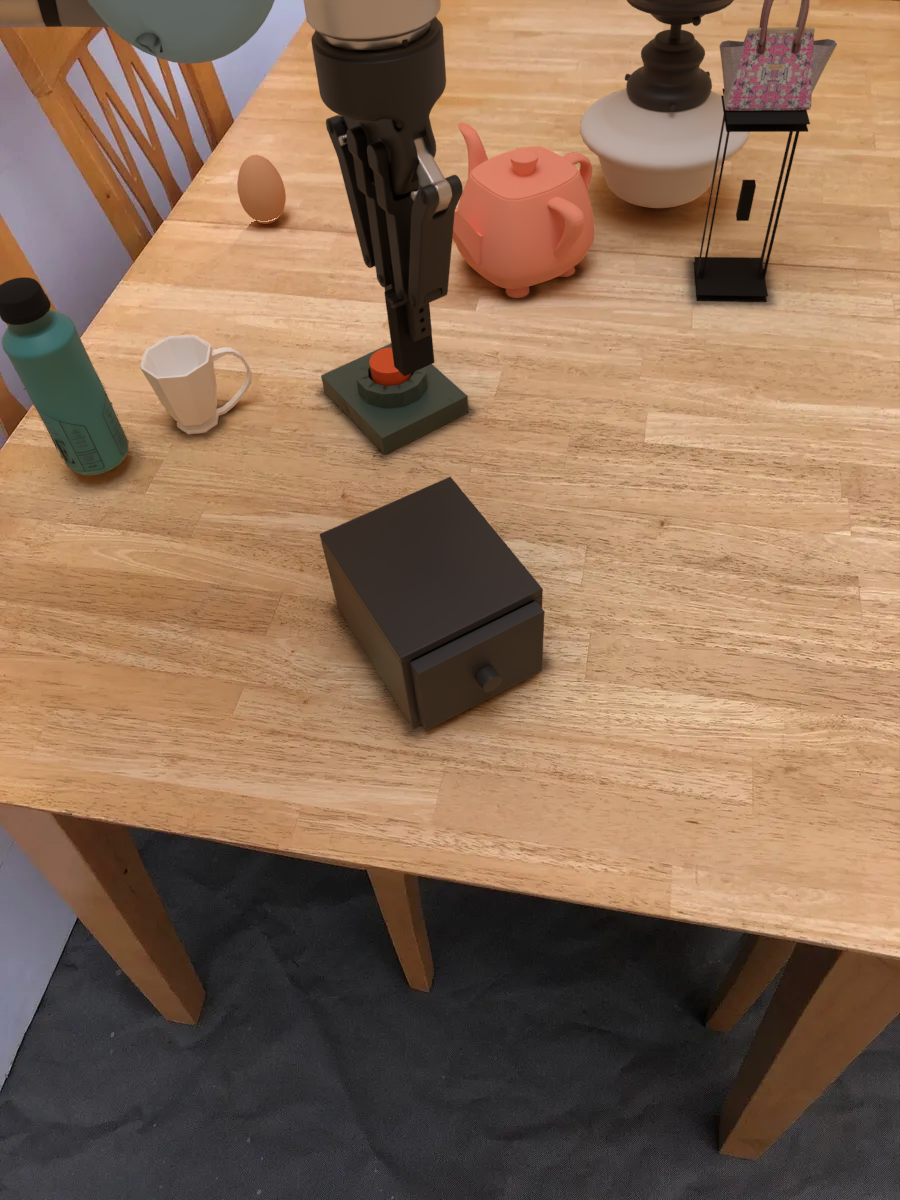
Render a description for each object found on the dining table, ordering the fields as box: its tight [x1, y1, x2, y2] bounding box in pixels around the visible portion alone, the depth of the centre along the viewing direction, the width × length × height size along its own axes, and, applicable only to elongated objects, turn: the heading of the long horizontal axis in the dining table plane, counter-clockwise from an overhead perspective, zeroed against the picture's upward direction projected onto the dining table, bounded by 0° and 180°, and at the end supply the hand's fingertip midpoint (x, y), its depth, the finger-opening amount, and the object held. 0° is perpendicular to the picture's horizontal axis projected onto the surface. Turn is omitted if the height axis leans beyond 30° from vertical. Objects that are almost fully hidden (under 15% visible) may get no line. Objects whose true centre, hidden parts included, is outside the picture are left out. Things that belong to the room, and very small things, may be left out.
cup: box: [139, 334, 253, 435], centre depth 92 cm, size 7×10×8 cm
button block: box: [320, 343, 469, 455], centre depth 93 cm, size 12×10×4 cm
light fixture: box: [579, 0, 751, 209], centre depth 105 cm, size 20×20×25 cm
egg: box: [236, 154, 287, 225], centre depth 114 cm, size 6×6×8 cm
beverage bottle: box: [0, 277, 130, 476], centre depth 83 cm, size 6×7×20 cm
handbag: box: [693, 0, 838, 303], centre depth 92 cm, size 10×8×30 cm
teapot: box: [452, 122, 595, 299], centre depth 103 cm, size 16×17×14 cm
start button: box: [369, 347, 411, 386], centre depth 91 cm, size 4×4×2 cm
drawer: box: [410, 601, 545, 732], centre depth 71 cm, size 14×10×8 cm
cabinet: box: [319, 476, 544, 729], centre depth 72 cm, size 14×12×10 cm
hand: (414, 364), depth 70 cm, fingers closed
